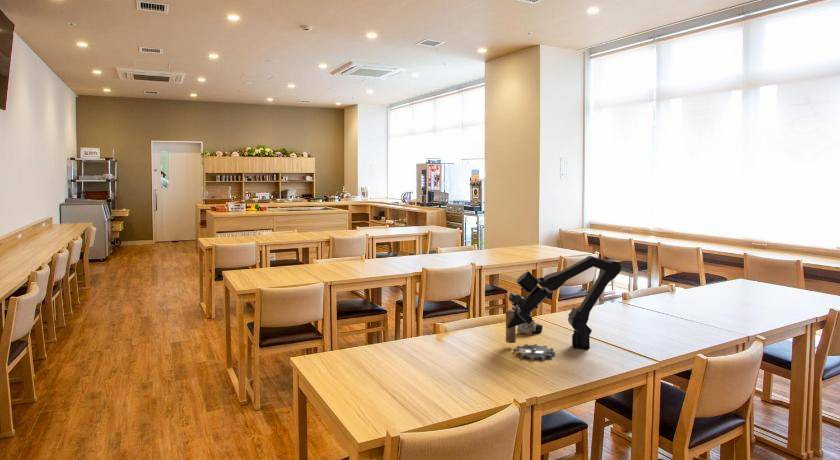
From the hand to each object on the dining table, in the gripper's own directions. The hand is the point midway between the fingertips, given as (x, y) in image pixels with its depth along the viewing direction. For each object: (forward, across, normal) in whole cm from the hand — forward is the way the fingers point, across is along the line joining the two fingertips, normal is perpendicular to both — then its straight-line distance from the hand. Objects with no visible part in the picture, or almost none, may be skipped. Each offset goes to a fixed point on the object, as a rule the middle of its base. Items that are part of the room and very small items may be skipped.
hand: (507, 326), depth 219 cm
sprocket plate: (0, +8, +13) cm, 16 cm away
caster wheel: (-3, -22, +16) cm, 27 cm away
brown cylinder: (+4, 0, +6) cm, 7 cm away
